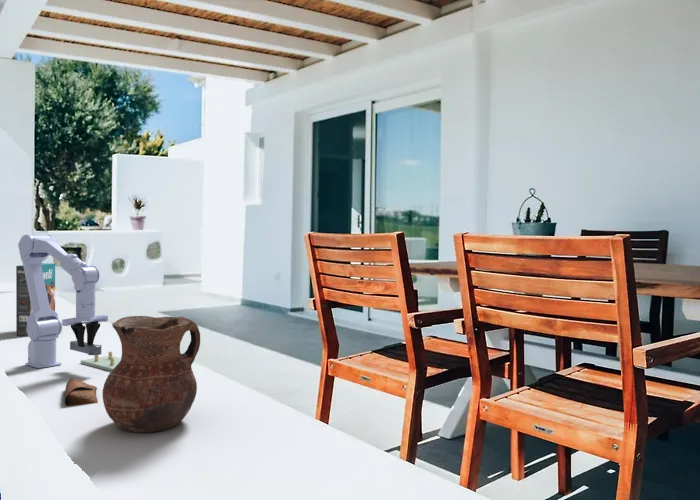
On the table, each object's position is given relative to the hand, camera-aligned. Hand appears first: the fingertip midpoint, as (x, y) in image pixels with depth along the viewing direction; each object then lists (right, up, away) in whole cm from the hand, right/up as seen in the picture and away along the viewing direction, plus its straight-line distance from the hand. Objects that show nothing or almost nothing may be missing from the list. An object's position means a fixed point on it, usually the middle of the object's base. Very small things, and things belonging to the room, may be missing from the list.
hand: (85, 346), depth 203 cm
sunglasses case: (+11, -10, -29) cm, 33 cm away
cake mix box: (-54, -6, +76) cm, 94 cm away
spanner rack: (+4, -8, +11) cm, 14 cm away
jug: (+38, -11, -53) cm, 66 cm away
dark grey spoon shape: (0, -2, 0) cm, 2 cm away
